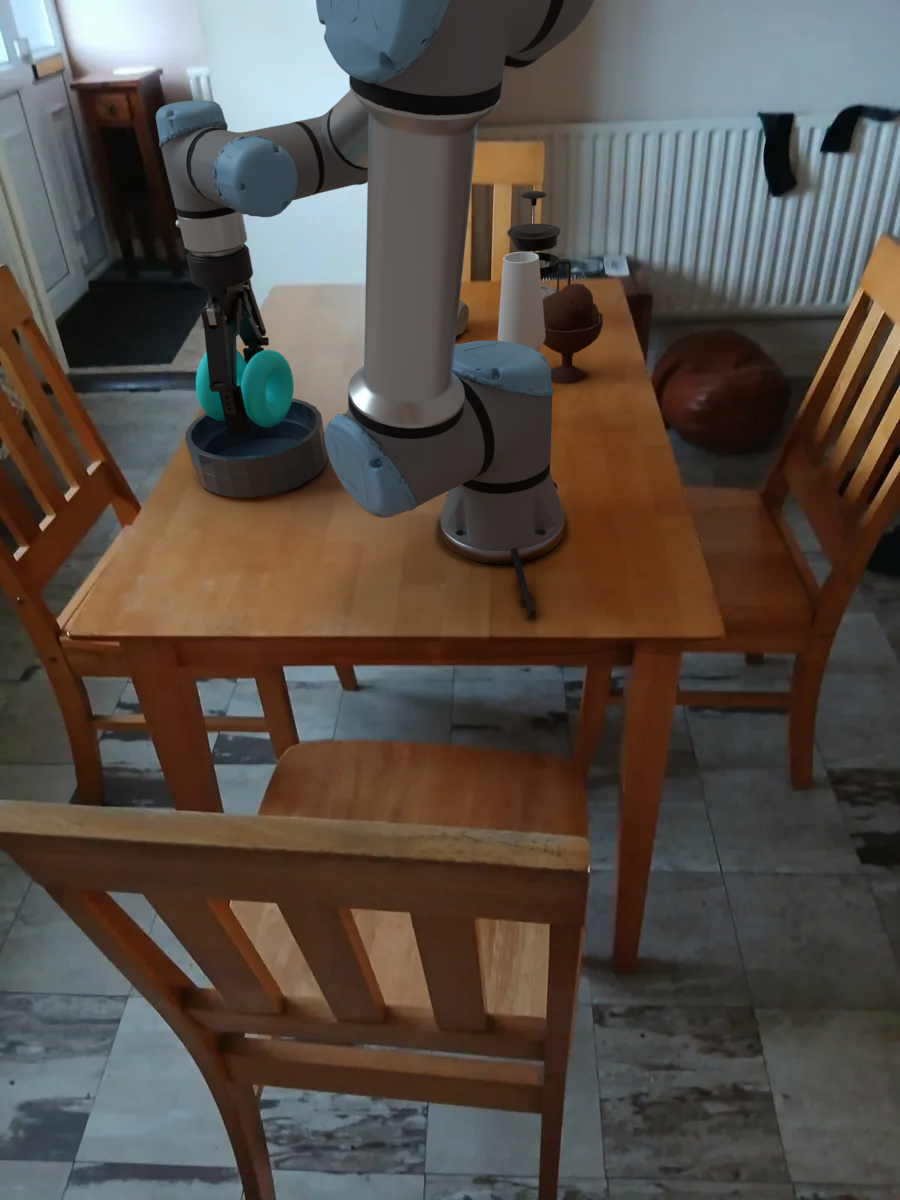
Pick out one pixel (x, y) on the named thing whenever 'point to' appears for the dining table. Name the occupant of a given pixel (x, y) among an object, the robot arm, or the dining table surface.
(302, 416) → the bowl
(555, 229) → the french press
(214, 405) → the donuts
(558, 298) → the ice cream bowl
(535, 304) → the white tapered vase
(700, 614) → the dining table surface
